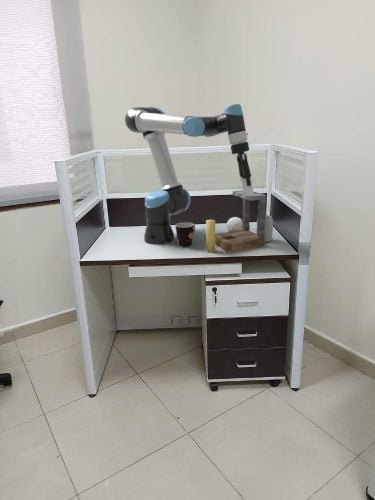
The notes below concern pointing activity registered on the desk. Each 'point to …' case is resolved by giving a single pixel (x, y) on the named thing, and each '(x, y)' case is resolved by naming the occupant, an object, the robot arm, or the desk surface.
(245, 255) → the desk surface
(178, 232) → the coffee mug
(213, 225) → the peg
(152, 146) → the robot arm
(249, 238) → the socket board
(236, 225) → the white rounded lump
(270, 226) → the can
